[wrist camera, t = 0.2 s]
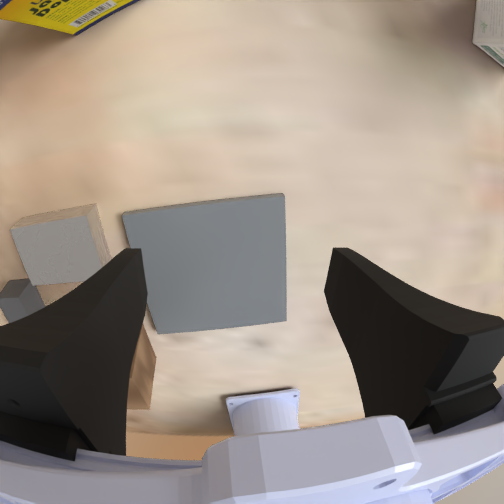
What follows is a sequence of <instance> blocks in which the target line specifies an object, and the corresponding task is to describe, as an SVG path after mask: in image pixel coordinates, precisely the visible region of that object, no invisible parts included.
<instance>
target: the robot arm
mask: <svg viewBox="0 0 504 504" xmlns="http://www.w3.org/2000/svg"><path fill="white" fill-rule="evenodd" d="M324 293H325V296H326V300H327V304H328V307H329V311H330V313H331V316H332V318H333V320H334V323H335V325H336V327H337V329H338V332H339V334H340V336H341V338H342V341H343V343H344V345H345V347H346V350H347V352H348V354H349V357H350V359H351V362H352V365H353V368H354V372H355V375H356V379H357V382H358V386H359V390H360V395H361V399H362V403H363V408H364V413H365V418H362V419H357V420H352V421H347V422H341V423H335V424H329V425H323V426H316V427H309V428H301V429H300V428H299V424H298V419H297V416H298V405H299V394H300V392H299V389H296V388H295V389H289V390H282V391H275V392H268V393H260V394H252V395H243V396H234V397H228V398H226V404H227V408H228V412H229V416H230V420H231V424H232V427H233V431H234V435H235V436H234V437H230V438H227V439H225V440H223V441H220V442H218V443H216V444H213V445H212V446H210V447H209V448H208V449H207V450H206V452H205V454H204V456H203V458H202V460H199V461H197V460H196V461H195V460H166V459H152V458H140V457H130V456H126V413H127V399H128V388H129V379H130V371H131V366H132V361H133V357H134V354H135V350H136V346H137V342H138V338H139V335H140V331H141V327H142V324H143V320H144V316H145V310H146V303H147V296H148V292H147V285H146V279H145V272H144V265H143V258H142V251H141V248H126V249H124V250H123V251H121V252H120V253H119V254H118V255H116V256H115V257H114V258H113V259H112V260H110V261H109V262H108V263H107V264H106V265H104V266H103V267H102V268H101V269H100V270H98V271H97V272H96V273H95V274H94V275H92V276H91V277H90V278H88V279H87V280H86V281H84V282H83V283H82V284H80V285H79V286H78V287H77V288H75V289H74V290H72V291H71V292H69V293H68V294H66V295H65V296H63V297H62V298H60V299H58V300H57V301H55V302H53V303H51V304H50V305H48V306H46V307H44V308H42V309H40V310H38V311H36V312H35V313H33V314H30V315H28V316H26V317H24V318H21V319H19V320H16V321H14V322H12V323H9V324H6V325H3V326H0V504H433V503H435V502H437V501H439V500H441V499H443V498H445V497H447V496H449V495H451V494H453V493H455V492H456V491H458V490H460V489H462V488H464V487H465V486H467V485H469V484H471V483H472V482H474V481H476V480H477V479H479V478H481V477H482V476H484V475H486V474H487V473H489V472H490V471H492V470H493V469H495V468H497V467H498V466H500V465H501V464H503V463H504V384H503V385H501V386H500V387H499V388H497V389H496V387H495V386H494V384H493V383H494V382H495V381H496V376H495V375H494V373H493V370H494V369H495V368H496V366H497V365H498V363H499V362H500V360H501V358H502V357H503V356H504V320H503V319H502V318H501V317H499V316H494V315H489V314H485V313H480V312H476V311H472V310H469V309H465V308H462V307H459V306H456V305H453V304H450V303H448V302H445V301H442V300H440V299H437V298H435V297H433V296H430V295H428V294H426V293H424V292H422V291H420V290H418V289H416V288H414V287H412V286H410V285H408V284H407V283H405V282H403V281H401V280H400V279H398V278H396V277H395V276H393V275H391V274H390V273H388V272H387V271H385V270H383V269H382V268H380V267H379V266H377V265H376V264H374V263H373V262H371V261H370V260H368V259H366V258H365V257H363V256H362V255H360V254H358V253H357V252H355V251H353V250H351V249H349V248H333V251H332V256H331V261H330V266H329V270H328V275H327V280H326V284H325V289H324Z"/></svg>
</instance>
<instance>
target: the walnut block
mask: <svg viewBox="0 0 504 504" xmlns="http://www.w3.org/2000/svg"><path fill="white" fill-rule="evenodd" d="M155 364H156V356H155V353H154V351H153V348H152V346H151V343H150V341H149V338H148V336H147V333H146V330H145V328H144V325H143V324H142V327H141V331H140V335H139V338H138V342H137V346H136V350H135V354H134V357H133V361H132V366H131V371H130V379H129V388H128V399H127V409H150V403H151V394H152V386H153V378H154V371H155Z"/></svg>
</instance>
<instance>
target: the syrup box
mask: <svg viewBox="0 0 504 504" xmlns="http://www.w3.org/2000/svg"><path fill="white" fill-rule="evenodd" d="M472 42H473V44H475V45H476V46H478V47H479V48H481V49H482V50H483V51H485V52H486V53H487V54H488V55H489V56H490V57H492V58H493V59H494V60H496V61H497V62H498V63H499V64H500V65H502V66H503V67H504V0H477V2H476V11H475V22H474V32H473V40H472Z"/></svg>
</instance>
